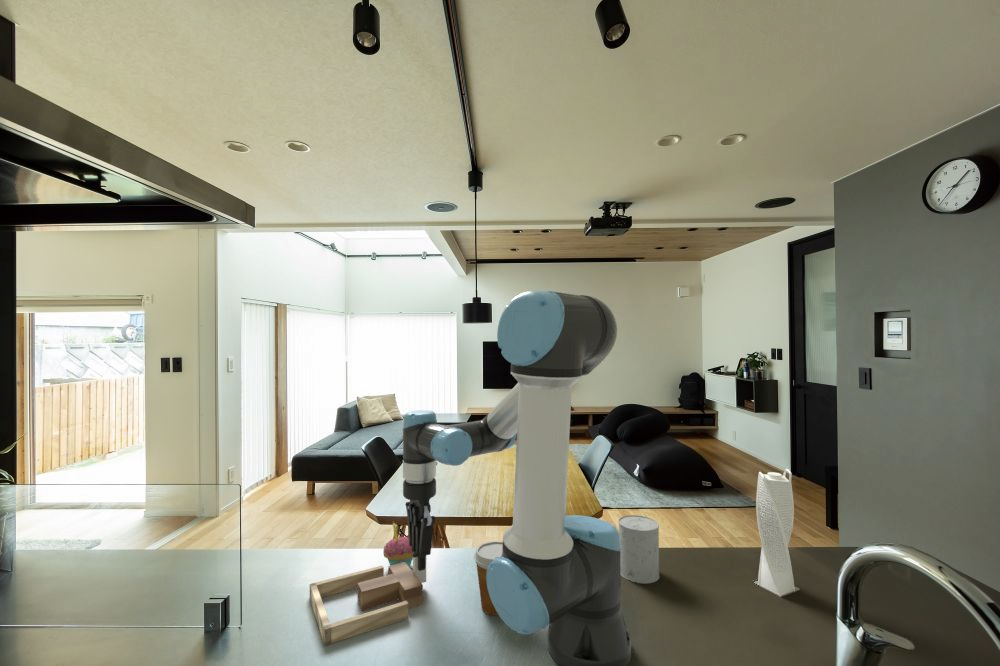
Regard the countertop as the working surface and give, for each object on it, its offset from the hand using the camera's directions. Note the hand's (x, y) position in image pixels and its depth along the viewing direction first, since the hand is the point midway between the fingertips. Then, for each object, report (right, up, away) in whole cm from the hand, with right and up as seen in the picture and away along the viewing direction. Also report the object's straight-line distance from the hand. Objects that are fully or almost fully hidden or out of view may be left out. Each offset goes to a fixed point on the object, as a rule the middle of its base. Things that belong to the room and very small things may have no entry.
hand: (419, 581), depth 103 cm
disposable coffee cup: (+18, -2, -7) cm, 19 cm away
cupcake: (-7, -2, +10) cm, 12 cm away
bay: (-11, -1, -7) cm, 14 cm away
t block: (-6, -2, -4) cm, 8 cm away
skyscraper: (+82, -2, 0) cm, 82 cm away
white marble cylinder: (+52, -2, +7) cm, 53 cm away
